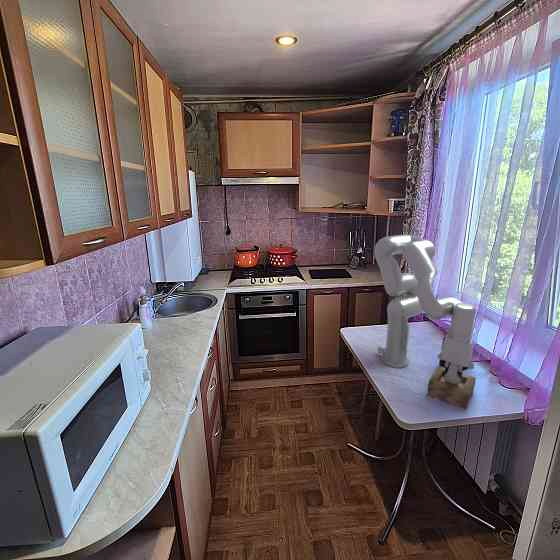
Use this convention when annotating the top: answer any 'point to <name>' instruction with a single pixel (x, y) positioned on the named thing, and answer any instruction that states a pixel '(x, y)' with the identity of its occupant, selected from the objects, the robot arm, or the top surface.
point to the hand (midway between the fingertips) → (452, 376)
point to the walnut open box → (451, 389)
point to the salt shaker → (452, 375)
